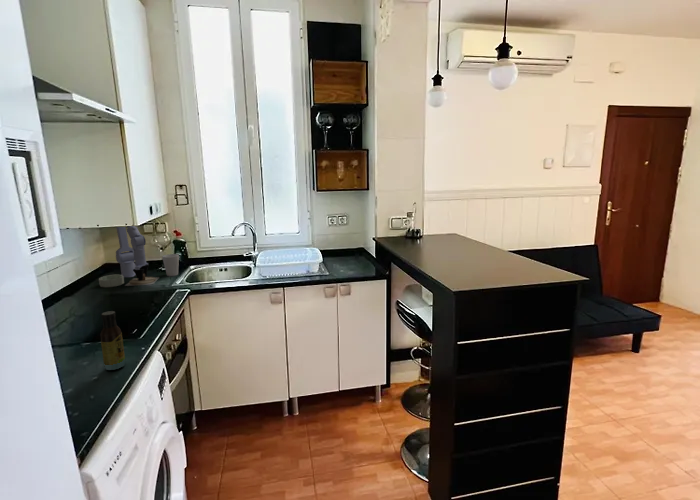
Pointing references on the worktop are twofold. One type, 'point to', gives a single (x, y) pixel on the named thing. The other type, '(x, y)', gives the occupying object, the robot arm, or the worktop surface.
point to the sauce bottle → (111, 340)
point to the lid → (144, 281)
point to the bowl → (111, 280)
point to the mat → (143, 284)
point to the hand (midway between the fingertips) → (142, 278)
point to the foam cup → (171, 264)
